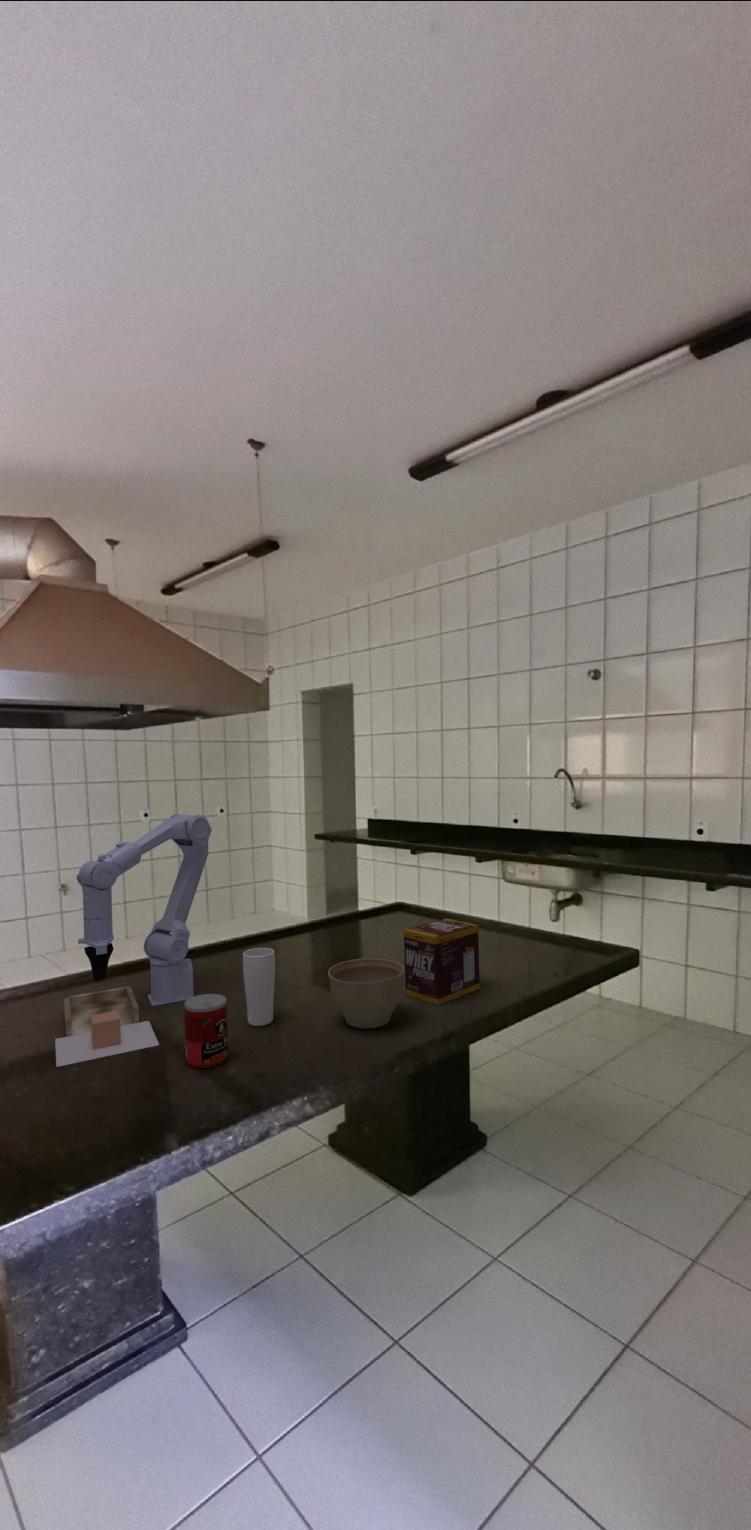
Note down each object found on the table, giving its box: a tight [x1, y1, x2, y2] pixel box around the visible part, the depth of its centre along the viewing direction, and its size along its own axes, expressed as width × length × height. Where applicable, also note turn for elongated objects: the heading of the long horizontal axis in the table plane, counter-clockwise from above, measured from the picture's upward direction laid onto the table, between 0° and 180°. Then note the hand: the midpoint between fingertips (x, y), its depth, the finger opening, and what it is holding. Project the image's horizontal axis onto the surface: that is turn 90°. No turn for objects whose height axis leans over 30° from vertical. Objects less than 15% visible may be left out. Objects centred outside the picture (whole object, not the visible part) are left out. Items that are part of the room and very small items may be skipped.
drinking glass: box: [242, 947, 276, 1027], centre depth 137 cm, size 7×7×15 cm
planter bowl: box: [327, 958, 405, 1029], centre depth 136 cm, size 16×16×11 cm
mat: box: [54, 1020, 160, 1068], centre depth 128 cm, size 18×14×1 cm
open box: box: [63, 985, 140, 1037], centre depth 141 cm, size 14×15×4 cm
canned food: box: [183, 993, 229, 1069], centre depth 120 cm, size 8×8×11 cm
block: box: [91, 1010, 121, 1050], centre depth 127 cm, size 5×5×5 cm
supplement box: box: [403, 918, 481, 1005], centre depth 152 cm, size 10×15×16 cm
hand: (99, 979), depth 139 cm, fingers closed
